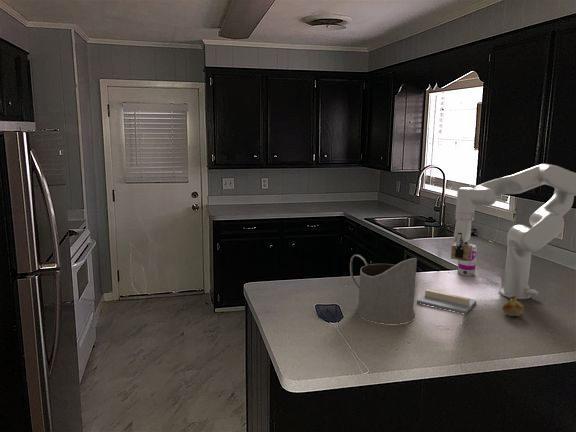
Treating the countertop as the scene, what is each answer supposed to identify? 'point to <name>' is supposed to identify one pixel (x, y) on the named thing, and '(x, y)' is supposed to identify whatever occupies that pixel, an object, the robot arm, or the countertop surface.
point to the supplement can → (468, 263)
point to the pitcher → (386, 291)
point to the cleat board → (446, 301)
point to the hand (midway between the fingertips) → (461, 255)
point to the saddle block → (466, 252)
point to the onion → (513, 307)
